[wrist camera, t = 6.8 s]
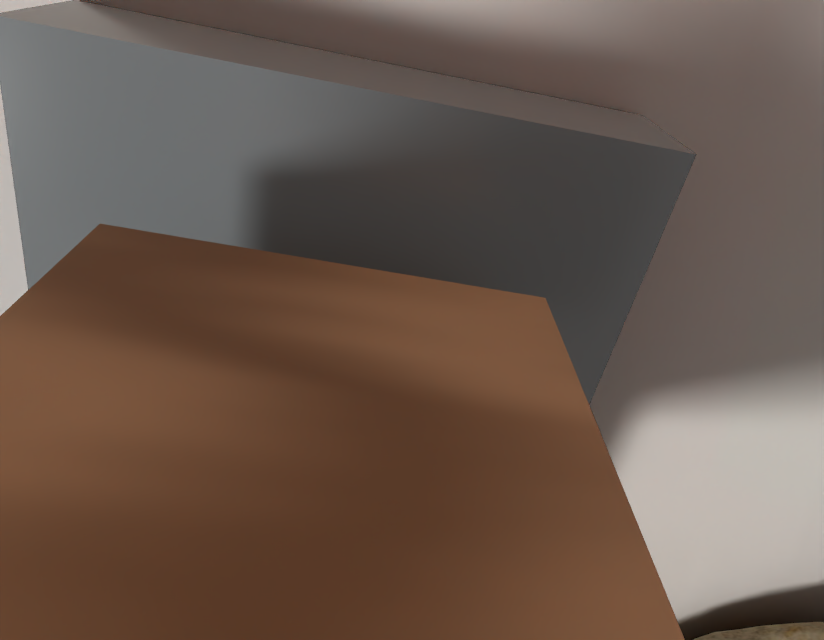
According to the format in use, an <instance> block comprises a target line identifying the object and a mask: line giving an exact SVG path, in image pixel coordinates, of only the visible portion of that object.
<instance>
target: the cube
mask: <svg viewBox="0 0 824 640" xmlns="http://www.w3.org/2000/svg"><path fill="white" fill-rule="evenodd" d="M0 640H685V639H684V637H683V634H682V632H681V629H680V627H679V624H678V622H677V619H676V617H675V614H674V612H673V610H672V607H671V605H670V602H669V600H668V597H667V595H666V592H665V590H664V588H663V585H662V583H661V580H660V578H659V575H658V573H657V570H656V568H655V565H654V563H653V561H652V558H651V556H650V553H649V551H648V548H647V546H646V543H645V541H644V538H643V536H642V534H641V531H640V529H639V526H638V524H637V521H636V519H635V516H634V514H633V511H632V509H631V507H630V504H629V502H628V499H627V497H626V494H625V492H624V489H623V487H622V484H621V482H620V480H619V477H618V475H617V472H616V470H615V467H614V465H613V462H612V460H611V457H610V455H609V453H608V450H607V448H606V445H605V443H604V440H603V438H602V435H601V433H600V430H599V428H598V426H597V423H596V421H595V418H594V416H593V413H592V411H591V408H590V406H589V404H588V401H587V399H586V396H585V394H584V391H583V389H582V386H581V384H580V381H579V379H578V377H577V374H576V372H575V369H574V367H573V364H572V362H571V359H570V357H569V354H568V352H567V350H566V347H565V345H564V342H563V340H562V337H561V335H560V332H559V330H558V327H557V325H556V323H555V320H554V318H553V315H552V313H551V310H550V308H549V305H548V303H547V300H546V298H543V297H537V296H531V295H525V294H519V293H513V292H507V291H501V290H495V289H489V288H483V287H477V286H471V285H465V284H459V283H453V282H447V281H441V280H436V279H430V278H424V277H418V276H412V275H406V274H400V273H394V272H388V271H382V270H376V269H370V268H364V267H358V266H352V265H346V264H340V263H334V262H328V261H322V260H316V259H310V258H304V257H298V256H292V255H286V254H280V253H274V252H268V251H262V250H256V249H250V248H244V247H238V246H232V245H226V244H220V243H214V242H208V241H202V240H196V239H190V238H184V237H178V236H172V235H166V234H160V233H154V232H148V231H142V230H136V229H130V228H124V227H118V226H112V225H106V224H99V225H98V226H97V227H95V228H94V229H93V230H92V231H91V232H90V233H89V234H88V235H87V236H86V237H85V238H84V239H83V240H82V241H80V242H79V243H78V244H77V245H76V246H75V247H74V248H73V249H72V250H71V251H70V252H69V253H68V254H67V255H65V256H64V257H63V258H62V259H61V260H60V261H59V262H58V263H57V264H56V265H55V266H54V267H53V268H52V269H50V270H49V271H48V272H47V273H46V274H45V275H44V276H43V277H42V278H41V279H40V280H39V281H38V282H37V283H35V284H34V285H33V286H32V287H31V288H30V289H29V290H28V291H27V292H26V293H25V294H24V295H23V296H22V297H20V298H19V299H18V300H17V301H16V302H15V303H14V304H13V305H12V306H11V307H10V308H9V309H8V310H7V311H5V312H4V313H3V314H2V315H1V316H0Z"/></svg>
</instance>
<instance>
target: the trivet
mask: <svg viewBox="0 0 824 640" xmlns="http://www.w3.org/2000/svg"><path fill="white" fill-rule="evenodd" d="M0 85H1V93H2V100H3V107H4V115H5V122H6V129H7V137H8V144H9V152H10V159H11V166H12V174H13V181H14V188H15V196H16V203H17V211H18V218H19V225H20V233H21V240H22V247H23V255H24V262H25V270H26V277H27V284H28V290H29V289H30V288H31V287H32V286H33V285H34V284H35V283H37V282H38V281H39V280H40V279H41V278H42V277H43V276H44V275H45V274H46V273H47V272H48V271H49V270H50V269H52V268H53V267H54V266H55V265H56V264H57V263H58V262H59V261H60V260H61V259H62V258H63V257H64V256H65V255H67V254H68V253H69V252H70V251H71V250H72V249H73V248H74V247H75V246H76V245H77V244H78V243H79V242H80V241H82V240H83V239H84V238H85V237H86V236H87V235H88V234H89V233H90V232H91V231H92V230H93V229H94V228H95V227H97V226H98V225H99V224H106V225H112V226H118V227H124V228H130V229H136V230H142V231H148V232H154V233H160V234H166V235H172V236H178V237H184V238H190V239H196V240H202V241H208V242H214V243H220V244H226V245H232V246H238V247H244V248H250V249H256V250H262V251H268V252H274V253H280V254H286V255H292V256H298V257H304V258H310V259H316V260H322V261H328V262H334V263H340V264H346V265H352V266H358V267H364V268H370V269H376V270H382V271H388V272H394V273H400V274H406V275H412V276H418V277H424V278H430V279H436V280H441V281H447V282H453V283H459V284H465V285H471V286H477V287H483V288H489V289H495V290H501V291H507V292H513V293H519V294H525V295H531V296H537V297H543V298H546V300H547V303H548V305H549V308H550V310H551V313H552V315H553V318H554V320H555V323H556V325H557V327H558V330H559V332H560V335H561V337H562V340H563V342H564V345H565V347H566V350H567V352H568V354H569V357H570V359H571V362H572V364H573V367H574V369H575V372H576V374H577V377H578V379H579V381H580V384H581V386H582V389H583V391H584V394H585V396H586V399H587V401H588V404H590V402H591V399H592V397H593V395H594V392H595V390H596V388H597V385H598V383H599V381H600V378H601V376H602V374H603V371H604V369H605V367H606V364H607V362H608V360H609V357H610V355H611V353H612V350H613V348H614V346H615V343H616V341H617V339H618V336H619V334H620V332H621V329H622V327H623V325H624V322H625V320H626V318H627V315H628V313H629V311H630V308H631V306H632V304H633V301H634V299H635V297H636V294H637V292H638V290H639V287H640V285H641V283H642V280H643V278H644V276H645V273H646V271H647V268H648V266H649V264H650V261H651V259H652V257H653V254H654V252H655V250H656V247H657V245H658V243H659V240H660V238H661V236H662V233H663V231H664V229H665V226H666V224H667V222H668V219H669V217H670V215H671V212H672V210H673V208H674V205H675V203H676V201H677V198H678V196H679V194H680V191H681V189H682V187H683V184H684V182H685V180H686V177H687V175H688V173H689V170H690V168H691V166H692V163H693V161H694V159H695V156H696V154H695V153H694V152H692V151H691V150H690V149H688V148H687V147H685V146H684V145H683V144H681V143H680V142H678V141H677V140H676V139H674V138H673V137H672V136H670V135H669V134H667V133H666V132H665V131H663V130H662V129H660V128H659V127H658V126H656V125H655V124H653V123H652V122H651V121H649V120H648V119H647V118H645V117H644V116H642V115H639V114H634V113H629V112H624V111H619V110H614V109H609V108H605V107H600V106H595V105H590V104H585V103H580V102H575V101H570V100H565V99H560V98H555V97H550V96H546V95H541V94H536V93H531V92H526V91H521V90H516V89H511V88H506V87H501V86H496V85H491V84H487V83H482V82H477V81H472V80H467V79H462V78H457V77H452V76H447V75H442V74H437V73H432V72H428V71H423V70H418V69H413V68H408V67H403V66H398V65H393V64H388V63H383V62H378V61H373V60H369V59H364V58H359V57H354V56H349V55H344V54H339V53H334V52H329V51H324V50H319V49H314V48H310V47H305V46H300V45H295V44H290V43H285V42H280V41H275V40H270V39H265V38H260V37H256V36H251V35H246V34H241V33H236V32H231V31H226V30H221V29H216V28H211V27H206V26H201V25H197V24H192V23H187V22H182V21H177V20H172V19H167V18H162V17H157V16H152V15H147V14H142V13H138V12H133V11H128V10H123V9H118V8H113V7H108V6H103V5H98V4H93V3H88V2H83V1H79V0H72V1H66V2H60V3H54V4H49V5H43V6H37V7H31V8H26V9H20V10H14V11H8V12H2V13H0Z"/></svg>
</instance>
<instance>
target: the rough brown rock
mask: <svg viewBox="0 0 824 640" xmlns="http://www.w3.org/2000/svg"><path fill="white" fill-rule="evenodd" d="M693 640H824V622H805V623H789V624H776V625H764V626H758V627H751V628H744V629H737V630H728V631H719V632H713V633H710V634H707V635H704V636H702V637H699V638H696V639H693Z"/></svg>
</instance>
